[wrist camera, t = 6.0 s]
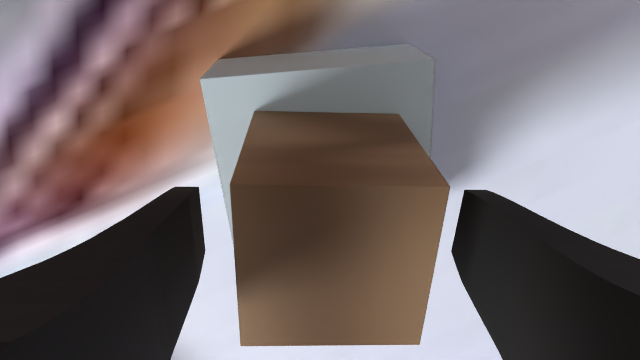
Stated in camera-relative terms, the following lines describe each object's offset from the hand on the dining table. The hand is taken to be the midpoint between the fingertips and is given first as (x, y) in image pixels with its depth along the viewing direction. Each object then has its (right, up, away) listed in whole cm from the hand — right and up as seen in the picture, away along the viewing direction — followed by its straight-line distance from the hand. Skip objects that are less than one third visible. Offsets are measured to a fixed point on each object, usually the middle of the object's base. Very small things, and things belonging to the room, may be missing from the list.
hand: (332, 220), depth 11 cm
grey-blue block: (0, +3, +6) cm, 6 cm away
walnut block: (0, +1, +3) cm, 3 cm away
